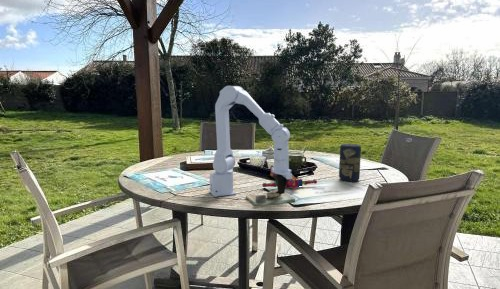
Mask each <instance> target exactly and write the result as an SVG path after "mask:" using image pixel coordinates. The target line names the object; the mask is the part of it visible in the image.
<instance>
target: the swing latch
mask: <svg viewBox="0 0 500 289" xmlns="http://www.w3.org/2000/svg"><path fill="white" fill-rule="evenodd" d="M266 193H267V199H274V197H277V196H279V195H281V194H279V193H278V188H276V189H274V190H272V191H268V192H266Z"/></svg>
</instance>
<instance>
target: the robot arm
mask: <svg viewBox="0 0 500 289" xmlns="http://www.w3.org/2000/svg"><path fill="white" fill-rule="evenodd" d="M235 104H238V105H243V106H245V107H246V108H247V109H248V110H249V111H250V112H251V113H253V115H254V116H255V117H256V118H258V124H259V125H260V126H261V127H262V128H263V129H264V130H265V131H266V132H267V133H268V134H269V135H270V136H271V140H272V142H273V167H271V166H270V167H271V168H272V172H274V173H276V174H277V175H276V176H273V177H274V178H273V177H272V178H273V179H274V181H275V183H276V184H277V188H276V189H278V193H279V194H284V193H286V188H287V187H286V184H287V182H288V180H289V179H292V176H293V173H292V169H290V167H289V166H290V164H289V162H290V157H289V156H290V155H289V154H290V153H289V152H290V147H289V139H290V137H291V133H290V132H291V131H289V129H288V128H287V127H285V126H284V124H283V123H280V122H279V121H278V120H277V119H276V118H275V117H276V116H275V114H273V113H272V114H271V113H270V112H265V111H264V110H263V109H262V107H260V105H259V104H258V102H256V101H255V99H253V98H252V97H251V95H250V94H249V92H247V90H245V89H244V88H243V87H242V86H239V85H226V86H224V87H223V88H222V89H221V90H220V91H219V96H218V98H217V100H216V102H215V104H214V105H215V106H214V110H215V129H216V131H215V132H216V148H217V149H216V150H215V153H214V159H213V162H212V167H213V168H212V169H213V170H214V172H211V173H209V191H208V192H209V193H210V194H211V195H212V196H213V197H223V196H224V197H225V196H233V195H237V192H236V191H235V190H234V170H233V169H234V167H235V165H236V159H235V157H234V153H233V152H234V151H233V150H232V148H231V135H230V133H231V132H230V114H229V112H230V111H229V110H230V109H231V108H232V107H233V106H234V105H235ZM285 187H286V188H285Z"/></svg>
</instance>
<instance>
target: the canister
mask: <svg viewBox="0 0 500 289" xmlns="http://www.w3.org/2000/svg"><path fill="white" fill-rule="evenodd" d="M361 156H362V147H361V145H360V144H356V143H352V142H350V143H343V144H341V145H340V147H339V163H338V164H339V166H338V178H339V179H340V180H341V181H346V182H357V181H359V179H360V177H361V174H360V173H361Z"/></svg>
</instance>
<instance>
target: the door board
mask: <svg viewBox="0 0 500 289" xmlns="http://www.w3.org/2000/svg"><path fill="white" fill-rule="evenodd" d="M245 199H247V200H248V201H249V202H250V203H251V204H253V205H254V206H255V207H260V206H268V205H276V204H285V203H293V202H292V201H295V202H296V198H294V197H292V195H289V194H287V193H286V192H285V193H284V194H281V195H279V196H277V197H274V199H267V192H266V193H257V194H248V195H245Z"/></svg>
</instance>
